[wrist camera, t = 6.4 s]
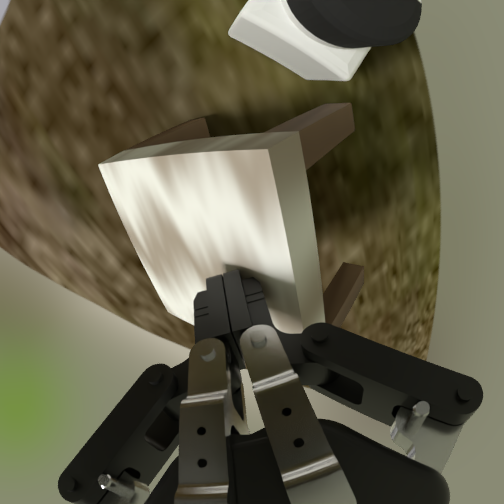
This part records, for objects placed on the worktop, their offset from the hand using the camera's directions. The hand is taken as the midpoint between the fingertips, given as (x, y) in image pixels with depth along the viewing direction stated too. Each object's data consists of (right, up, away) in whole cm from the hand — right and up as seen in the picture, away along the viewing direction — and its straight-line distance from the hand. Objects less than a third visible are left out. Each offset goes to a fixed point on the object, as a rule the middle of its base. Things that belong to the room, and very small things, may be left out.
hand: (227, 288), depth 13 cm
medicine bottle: (+4, +19, +4) cm, 20 cm away
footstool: (-4, +4, +8) cm, 10 cm away
